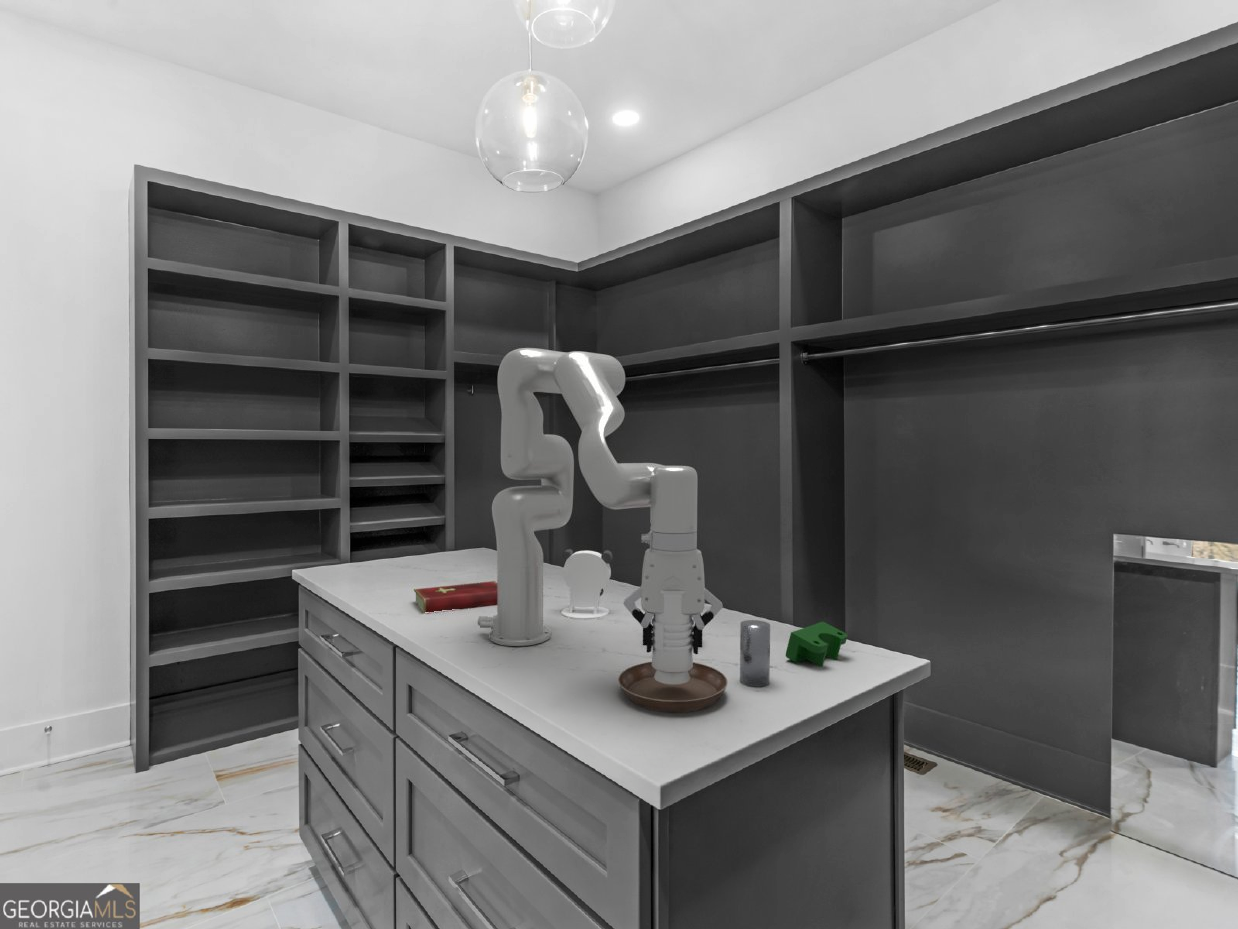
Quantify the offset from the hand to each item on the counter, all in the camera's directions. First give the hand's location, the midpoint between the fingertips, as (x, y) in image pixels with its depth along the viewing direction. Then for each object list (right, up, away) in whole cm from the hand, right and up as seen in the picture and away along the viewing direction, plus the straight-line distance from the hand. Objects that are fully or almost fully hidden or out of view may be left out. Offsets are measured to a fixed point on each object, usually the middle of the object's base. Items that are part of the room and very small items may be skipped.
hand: (672, 649), depth 106 cm
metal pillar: (+15, -7, +6) cm, 17 cm away
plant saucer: (0, -8, 0) cm, 8 cm away
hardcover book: (-49, -6, +59) cm, 76 cm away
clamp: (+29, -7, +17) cm, 35 cm away
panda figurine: (-16, -6, +50) cm, 53 cm away
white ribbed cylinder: (0, -5, 0) cm, 5 cm away
